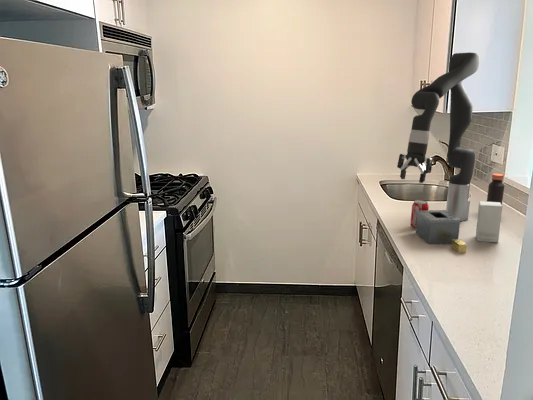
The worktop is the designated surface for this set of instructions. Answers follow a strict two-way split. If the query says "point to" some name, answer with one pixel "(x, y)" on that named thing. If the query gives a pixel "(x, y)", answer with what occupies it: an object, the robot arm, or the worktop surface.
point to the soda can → (415, 207)
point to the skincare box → (488, 221)
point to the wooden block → (459, 246)
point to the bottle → (496, 189)
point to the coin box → (437, 226)
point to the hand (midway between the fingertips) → (411, 180)
